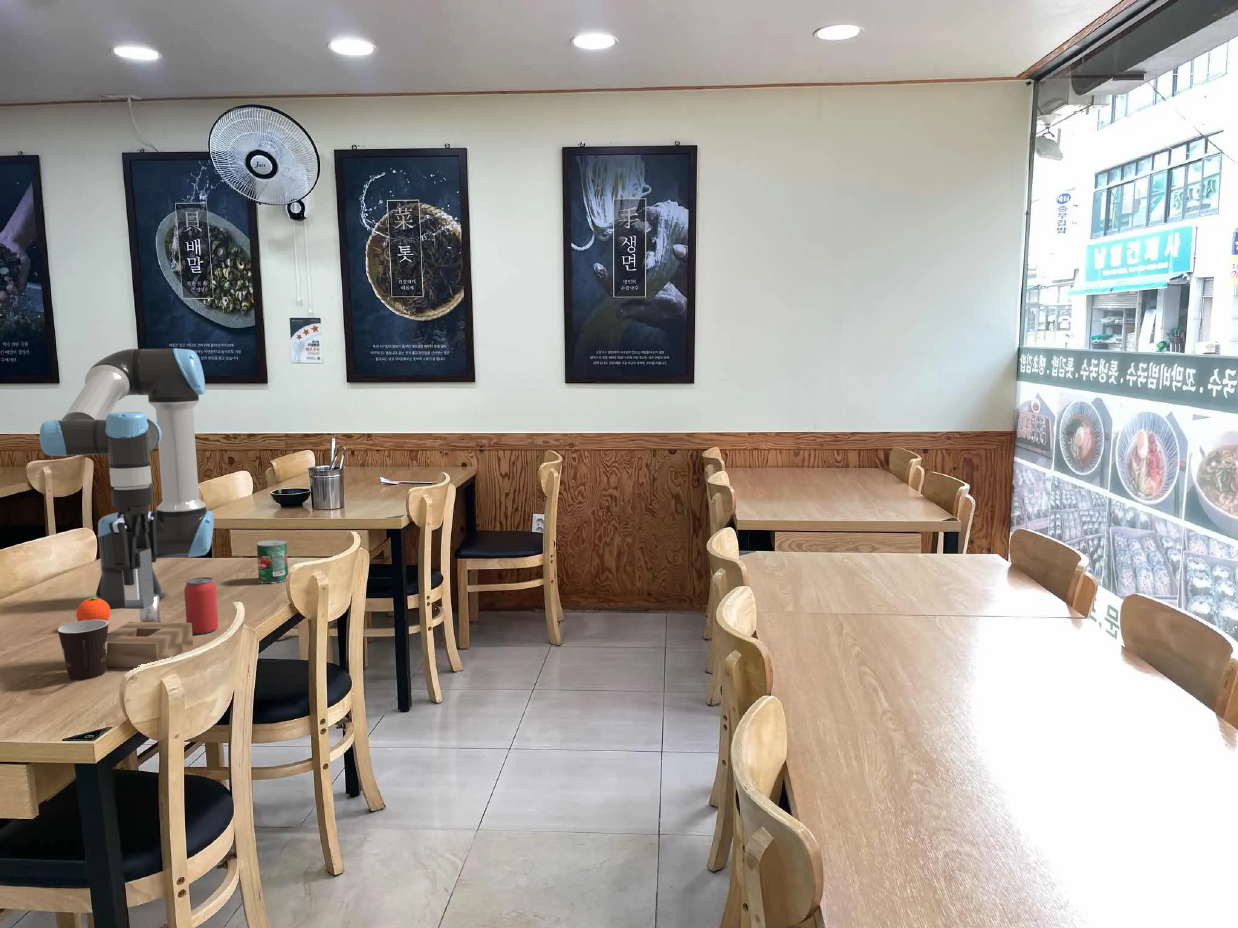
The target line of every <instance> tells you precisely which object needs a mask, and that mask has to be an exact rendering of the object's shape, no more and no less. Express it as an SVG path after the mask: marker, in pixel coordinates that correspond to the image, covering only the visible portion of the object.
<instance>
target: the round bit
mask: <svg viewBox="0 0 1238 928" xmlns="http://www.w3.org/2000/svg"><path fill="white" fill-rule="evenodd" d="M160 604H161V603H160V599H159V595H158V594H154V604H153V605H150V606H148V607H146V608H144V609H139V619H140V621H139V622H162V621H161V620H162V619H161V605H160Z"/></svg>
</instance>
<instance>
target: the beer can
mask: <svg viewBox="0 0 1238 928" xmlns="http://www.w3.org/2000/svg"><path fill="white" fill-rule="evenodd" d="M183 592H184V603H185V605H184V606H185V608H184V609H185V617H186V619H185V620H186V622H185V623H192V635H205V634H209V633H212V632H214V631H216V630H217V629H218V628H219V620H218V619H219V618H218V615H219V614H218V601H217V600H218V599H217V588H216V585H215V583H214V579H213V578H212V577H210V576H209V577H208V576H204V577H203V576H202V577H193V578H190V579H187V581H185V587H184V591H183Z"/></svg>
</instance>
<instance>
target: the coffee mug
mask: <svg viewBox="0 0 1238 928" xmlns="http://www.w3.org/2000/svg"><path fill="white" fill-rule="evenodd" d="M57 633H58V636H59V641H60V645H61V649H62V655H63V658H64V663H65V667H66V672H67V677H68V679H69V680H70V681H71V680H72V681H86V680H92V679H95V678H98V676H99V677H102V676H103V675H104V674H105V673H106V672H107V671H106V670H107V667H106V655H107V636H108V633H109V622H108V620H107V621H105V620H84V621H78V620H77V621H73V622H70V623H67V624H66V623H65V624H64V625H61V626H59V628H58V629H57Z"/></svg>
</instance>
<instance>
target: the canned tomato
mask: <svg viewBox="0 0 1238 928" xmlns="http://www.w3.org/2000/svg"><path fill="white" fill-rule="evenodd" d="M287 543H288V541H287V540H286V539H282V538H281V539H275V538H273V539H265V540H259V541H258V542H256V551H257V553H256V554H257V571H258V575H257V576H258V582H259V581H260V582H263V583H272V582H280V581H281V583H284V582H283V581H285V579H286V576H287V575H288V576H289V567H288V566H289V563H288V544H287ZM285 582H286V581H285Z"/></svg>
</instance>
